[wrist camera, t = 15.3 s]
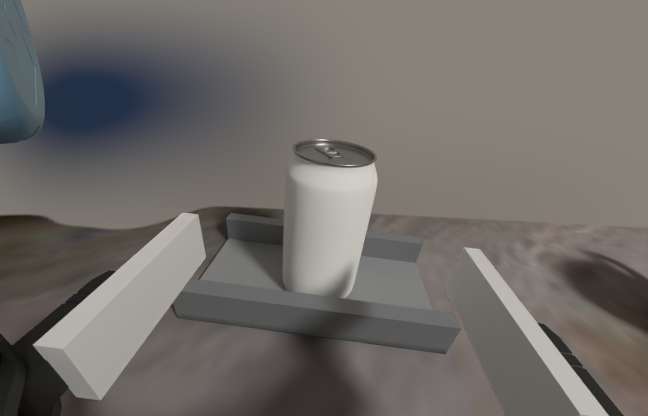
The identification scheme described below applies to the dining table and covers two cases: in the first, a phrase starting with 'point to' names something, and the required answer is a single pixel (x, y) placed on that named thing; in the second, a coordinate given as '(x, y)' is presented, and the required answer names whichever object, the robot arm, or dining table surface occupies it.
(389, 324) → the tray
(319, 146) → the can
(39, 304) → the dining table surface
